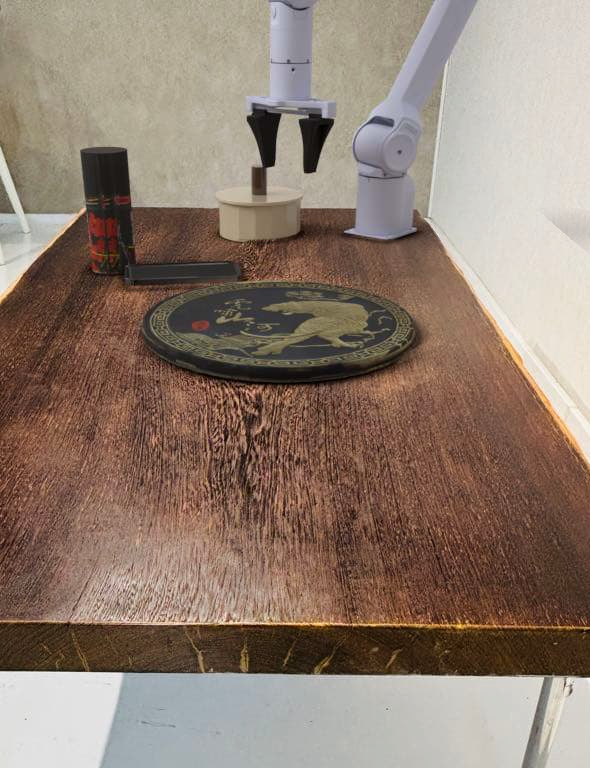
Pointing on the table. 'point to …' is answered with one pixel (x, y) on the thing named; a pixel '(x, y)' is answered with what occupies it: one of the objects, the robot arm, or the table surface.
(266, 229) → the container
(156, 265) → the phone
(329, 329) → the decorative plate
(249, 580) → the table surface
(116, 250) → the deodorant
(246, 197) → the cover
